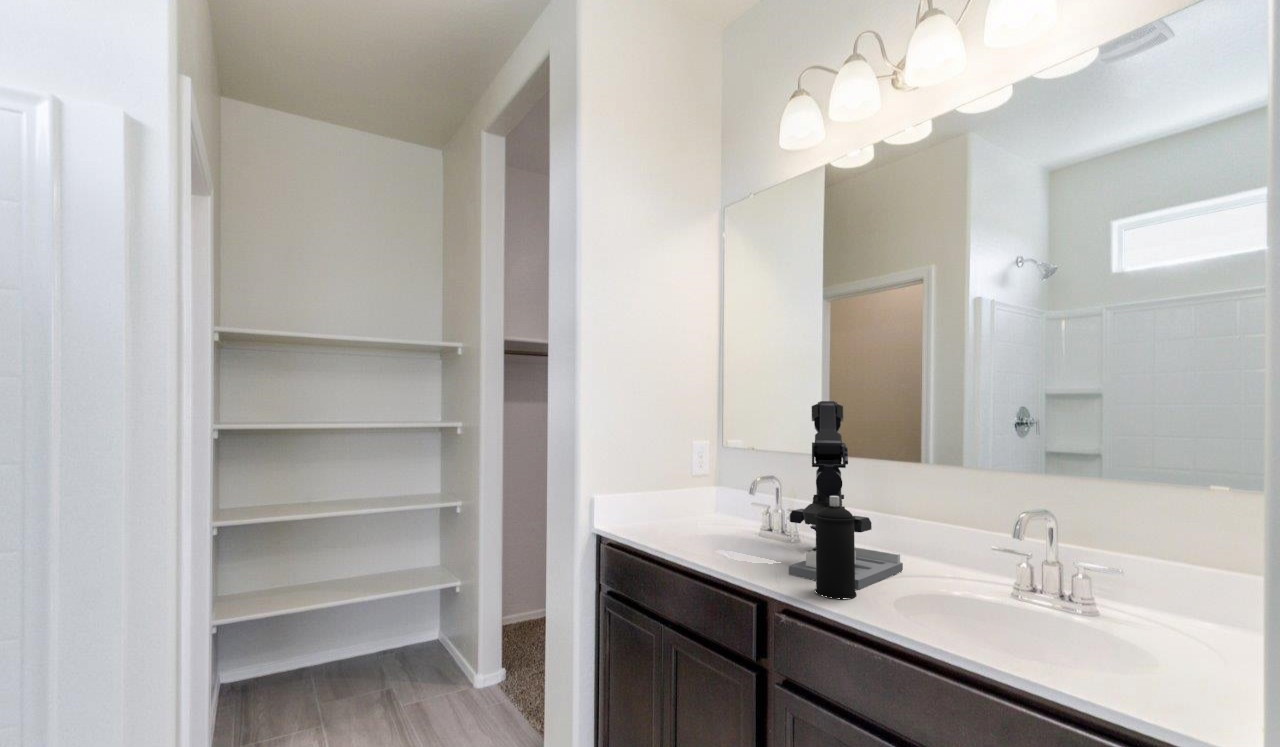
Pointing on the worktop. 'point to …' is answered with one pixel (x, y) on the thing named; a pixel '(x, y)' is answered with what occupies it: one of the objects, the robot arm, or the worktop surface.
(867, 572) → the breaker panel
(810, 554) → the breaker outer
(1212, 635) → the worktop surface
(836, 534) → the aerosol can
